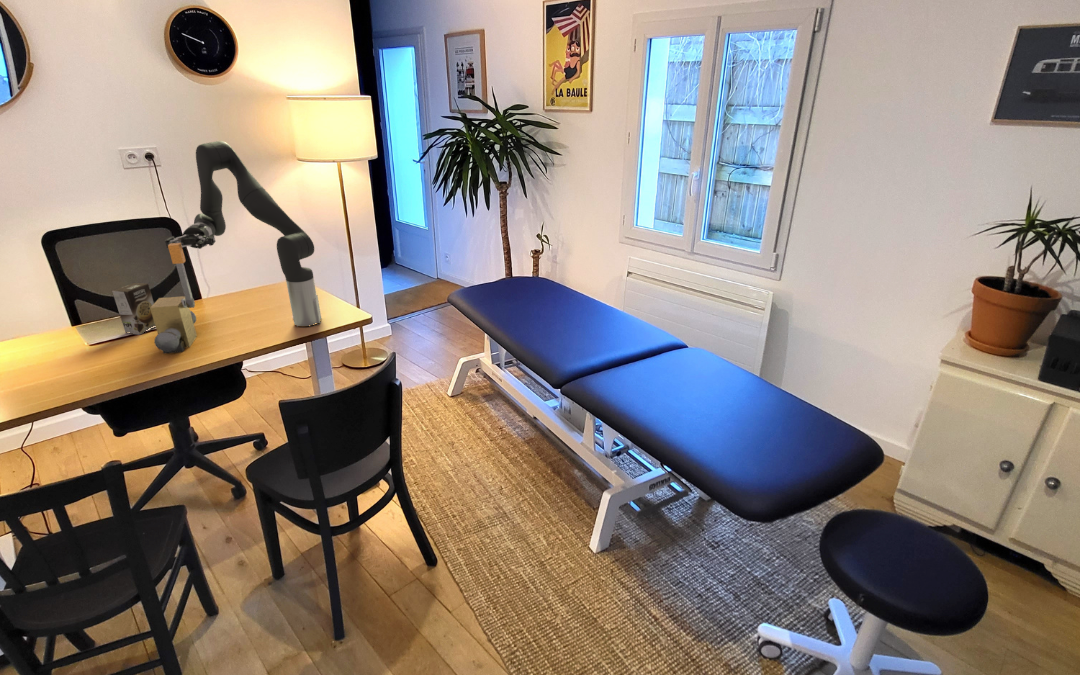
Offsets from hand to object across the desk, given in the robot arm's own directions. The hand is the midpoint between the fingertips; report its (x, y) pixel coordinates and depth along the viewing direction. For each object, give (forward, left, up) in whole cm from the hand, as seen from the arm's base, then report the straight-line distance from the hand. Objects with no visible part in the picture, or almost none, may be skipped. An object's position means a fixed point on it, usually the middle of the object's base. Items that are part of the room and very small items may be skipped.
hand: (184, 246), depth 185 cm
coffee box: (+22, -7, -31) cm, 39 cm away
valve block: (+6, +9, -31) cm, 33 cm away
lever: (0, +9, -19) cm, 20 cm away
